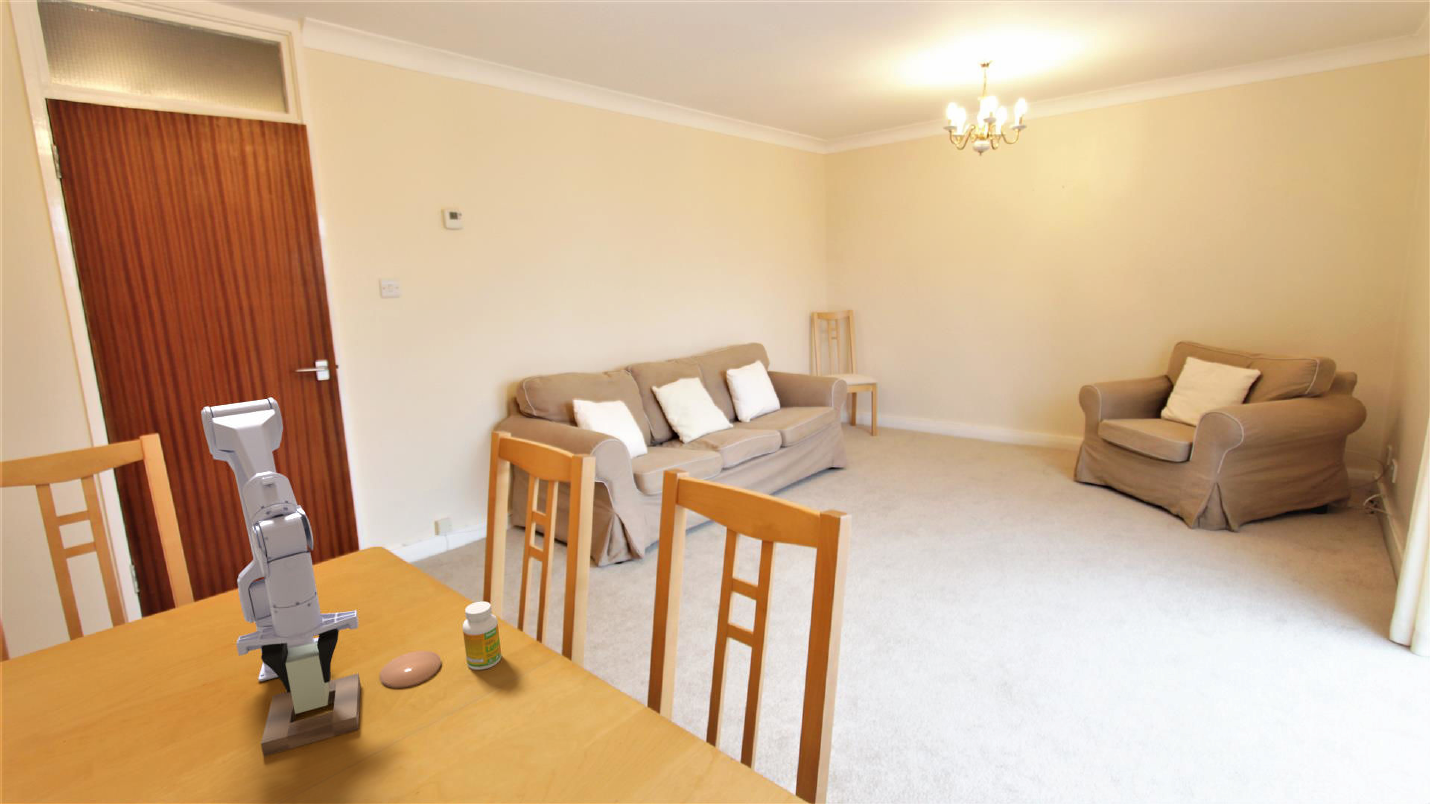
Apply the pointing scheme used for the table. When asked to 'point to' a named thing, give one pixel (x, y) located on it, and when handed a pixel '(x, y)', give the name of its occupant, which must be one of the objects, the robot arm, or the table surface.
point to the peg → (306, 678)
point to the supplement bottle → (481, 636)
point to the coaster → (410, 669)
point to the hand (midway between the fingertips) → (309, 683)
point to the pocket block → (312, 718)
